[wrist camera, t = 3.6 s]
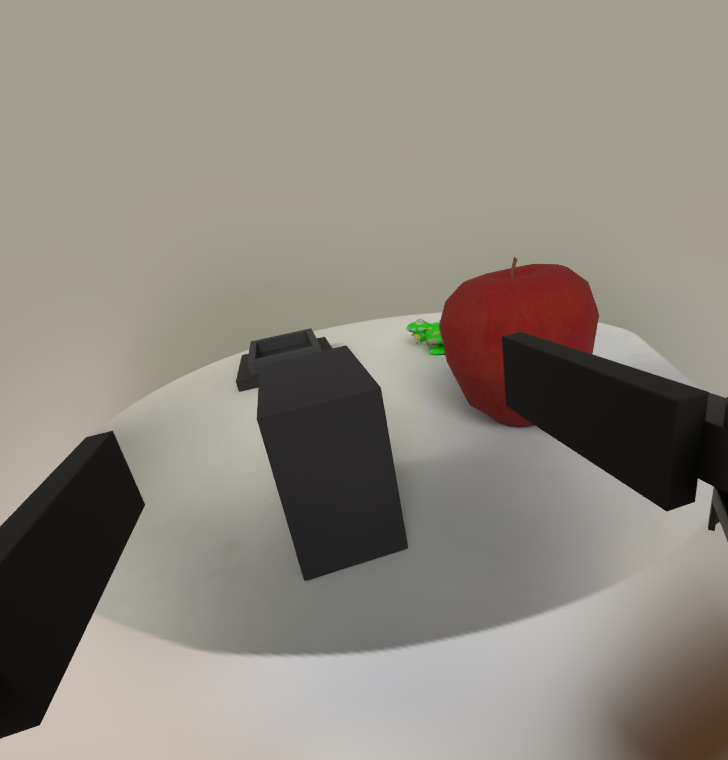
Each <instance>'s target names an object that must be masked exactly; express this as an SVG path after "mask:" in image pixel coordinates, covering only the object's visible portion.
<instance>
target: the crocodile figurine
mask: <svg viewBox="0 0 728 760" xmlns="http://www.w3.org/2000/svg"><path fill="white" fill-rule="evenodd" d="M440 321H441V320H440ZM439 324H440V322H439V323H433V324H431V323H427V322H425V321H424V320H423V319H418V320H417V321H416V322H414V323H411V324H409V325H408V326H407V328H406V330H408V331H410V332H413V334H412V336H414V337H415V338H416V339H417V340H419V342H417V344H422V342H423V341H424V340H426V342H427V344H431V346H433V345H434V346H435V347H434V348H432V349H431V350H430V354H432V355H440V354H445V351H444V346H443V342H442V338H441V334H440V329H439Z"/></svg>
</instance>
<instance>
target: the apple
mask: <svg viewBox="0 0 728 760" xmlns="http://www.w3.org/2000/svg"><path fill="white" fill-rule="evenodd" d="M516 262H517V259H516V258H515V257H514V259H513V264H512V268H511V269H506V270H501V271H496V272H492V273H488V274H484V275H481V276H479V277H476V278H473V279H471V280H468V281H465V282H463V283H462V284H461V285H460V286H459V287H458V289H457V290H456V291H455V292H454V293H453V294H452V295H451V296H450V297H449V298H448V299H447V301H446V302H445V305H444V309H443V313H442V317H441V321H440V324H439V329H440V334H441V338H442V342H443V346H444V351H445V355H446V359H447V363H448V364H449V366H450V368H451V370H452V372H453V374H454V376H455V378H456V380H457V382H458V384H459V386H460V388H461V390H462V391H463V393H464V395H465V397H466V399H467V401H468V402H469V404H470V405H471V406H473V407H475V408H476V409H478V410H480V411H482V412H483V413H485V414H487V415H489V416H491V417H492V418H494V419H495V420H497V421H498V422H500V423H503V424H506V425H510V426H529V425H534V424H532V423H531V422H529V421H528V420H526V419H525V418H523V417H522V416H520V415H519V414H517V413H516V412H514V411H513V410H511V409H510V408H508V407H507V406H506V399H505V383H504V366H503V349H502V336H505V335H509V334H513V333H517V332H524V333H527V334H530V335H533V336H536V337H540V338H543V339H546V340H549V341H552V342H555V343H558V344H561V345H564V346H567V347H570V348H574V349H577V350H580V351H583V352H586V353H589V354H592V353H593V347H594V341H595V336H596V330H597V324H598V318H599V314H598V310H597V306H596V303H595V300H594V298H593V295H592V292H591V289H590V286H589V283H588V282H587V281H586V280H585V279H583V278H582V277H580V276H579V275H578V274H576V273H575V272H573V271H572V270H571V269H569V268H568V267H565V266H562V265H555V264H531V265H525V266H520V267H515V266H516Z"/></svg>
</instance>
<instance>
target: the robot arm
mask: <svg viewBox="0 0 728 760" xmlns="http://www.w3.org/2000/svg"><path fill="white" fill-rule="evenodd" d="M502 349H503V366H504V383H505V399H506V406H507V407H508V408H510V409H511V410H513V411H514V412H516V413H517V414H519V415H520V416H522V417H523V418H525V419H526V420H528V421H529V422H531V423H532V424H534V425H536V426H537V427H539V428H540V429H542V430H543V431H545V432H546V433H548V434H549V435H551V436H552V437H554V438H555V439H557V440H558V441H560V442H561V443H563V444H564V445H566V446H568V447H569V448H571V449H572V450H574V451H575V452H577V453H578V454H580V455H581V456H583V457H584V458H586V459H587V460H589V461H590V462H592V463H593V464H595V465H597V466H598V467H600V468H601V469H603V470H604V471H606V472H607V473H609V474H610V475H612V476H613V477H615V478H616V479H618V480H619V481H621V482H622V483H624V484H626V485H627V486H629V487H630V488H632V489H633V490H635V491H636V492H638V493H639V494H641V495H642V496H644V497H645V498H647V499H648V500H650V501H651V502H653V503H655V504H656V505H658V506H659V507H661V508H662V509H664V510H665V511H670V510H672V509H675V508H678V507H681V506H684V505H687V504H690V503H693V502H695V497H696V489H697V481H698V478H699V479H700V480H702V481H704V482H706V483H708V484H710V485H712V486H714V489H713V496H712V502H711V509H710V516H709V523H708V529H709V530H712V531H715V525H716V524H717V523H719V522H720V523H721V526H722V528H723V531H724V533H725V536H726V538H727V541H728V397H727V398H724V397H720V396H718V395H715V394H711V393H709V392H707V391H704V390H700V389H697V388H694V387H691V386H688V385H685V384H682V383H679V382H676V381H673V380H670V379H666V378H663V377H660V376H657V375H654V374H651V373H648V372H645V371H642V370H639V369H635V368H632V367H629V366H626V365H623V364H620V363H617V362H614V361H611V360H608V359H605V358H601V357H598V356H595V355H592V354H589V353H586V352H583V351H580V350H577V349H574V348H570V347H567V346H564V345H561V344H558V343H555V342H552V341H549V340H546V339H543V338H540V337H536V336H533V335H530V334H527V333H524V332H517V333H513V334H509V335H505V336H502ZM144 506H145V503H144V501H143V499H142V497H141V494H140V492H139V490H138V487H137V485H136V483H135V481H134V478H133V476H132V474H131V471H130V469H129V467H128V465H127V462H126V460H125V458H124V455H123V453H122V451H121V449H120V446H119V444H118V442H117V439H116V437H115V435H114V433H113V431H110V432H106V433H102V434H98V435H94V436H90V437H86V438H85V439H84V440H83V441H82V442H81V443H80V445H78V446H77V447H76V448H75V449H74V451H72V452H71V454H70V455H69V456H68V457H67V458H66V459H65V460H64V461H63V462H62V463H61V464H60V465H59V466H58V467H57V468H56V469H55V470H54V471H53V472H52V473H51V474H50V475H49V476H48V477H47V478H46V480H45V481H44V482H43V483H42V484H41V485H40V486H39V487H38V488H37V489H36V490H35V491H34V492H33V493H32V494H31V495H30V496H29V497H28V498H27V499H26V500H25V501H24V502H23V503H22V504H21V506H20V507H19V508H18V509H17V510H16V511H15V512H14V513H13V514H12V515H11V516H10V517H9V518H8V519H7V520H6V521H5V522H4V523H3V524H2V525H1V526H0V738H3V737H6V736H9V735H12V734H15V733H18V732H21V731H24V730H27V729H30V728H33V727H36V726H39V725H40V724H41V722H42V720H43V717H44V715H45V713H46V711H47V709H48V707H49V705H50V703H51V701H52V698H53V696H54V694H55V692H56V690H57V688H58V686H59V684H60V682H61V680H62V678H63V676H64V673H65V671H66V669H67V667H68V665H69V663H70V661H71V659H72V657H73V655H74V652H75V650H76V648H77V646H78V644H79V642H80V640H81V638H82V636H83V634H84V631H85V629H86V627H87V625H88V623H89V621H90V619H91V617H92V615H93V613H94V611H95V609H96V606H97V604H98V602H99V600H100V598H101V596H102V594H103V592H104V590H105V588H106V585H107V583H108V581H109V579H110V577H111V575H112V573H113V571H114V569H115V567H116V565H117V562H118V560H119V558H120V556H121V554H122V552H123V550H124V548H125V546H126V544H127V541H128V539H129V537H130V535H131V533H132V531H133V529H134V527H135V525H136V523H137V520H138V518H139V516H140V514H141V512H142V510H143V508H144Z"/></svg>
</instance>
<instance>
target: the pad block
mask: <svg viewBox="0 0 728 760" xmlns="http://www.w3.org/2000/svg"><path fill="white" fill-rule="evenodd" d="M257 421H258V424H259V428H260V431H261V435H262V438H263V441H264V445H265V448H266V452H267V455H268V458H269V462H270V465H271V469H272V472H273V475H274V479H275V482H276V486H277V489H278V492H279V496H280V499H281V503H282V506H283V510H284V513H285V516H286V520H287V523H288V527H289V530H290V533H291V537H292V540H293V544H294V547H295V550H296V554H297V557H298V561H299V564H300V567H301V571H302V574H303V578H304V580H305V581H306V580H309V579H312V578H315V577H319V576H322V575H325V574H328V573H331V572H334V571H338V570H341V569H344V568H347V567H350V566H353V565H356V564H360V563H363V562H366V561H369V560H372V559H375V558H378V557H382V556H385V555H388V554H391V553H394V552H397V551H401V550H404V549H407V548H408V545H407V539H406V533H405V527H404V521H403V515H402V510H401V504H400V498H399V492H398V486H397V480H396V474H395V468H394V463H393V457H392V451H391V445H390V439H389V433H388V427H387V421H386V416H385V410H384V404H383V398H382V392H381V387H380V386H379V385H378V384H377V382H376V381H375V380H374V379H373V378H372V376H371V375H370V374H369V373H368V371H367V370H366V369H365V368H364V367H363V365H362V364H361V363H360V362H359V360H358V359H357V358H356V357H355V356H354V354H353V353H352V352H351V351H350V349H349V348H348V347H347V346H342V347H338V348H333V349H329V350H324V351H320V352H316V353H311V354H307V355H303V356H298V357H294V358H290V359H285V360H281V361H276V362H272V363H268V364H263V365H260V372H259V389H258V407H257Z"/></svg>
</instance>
